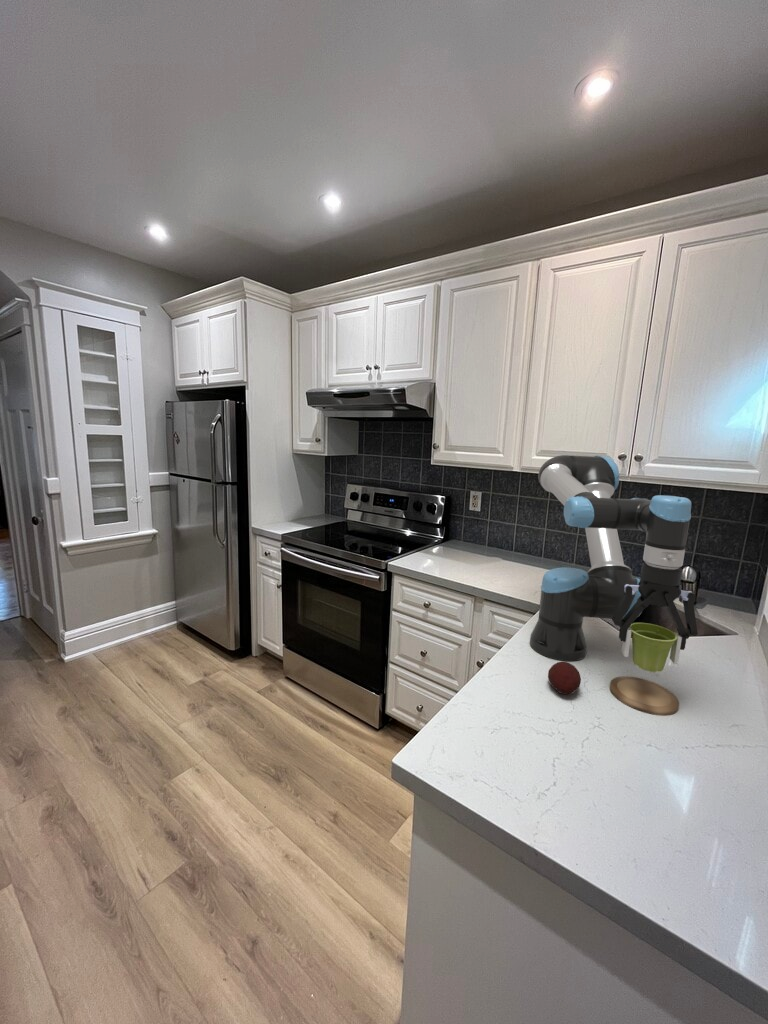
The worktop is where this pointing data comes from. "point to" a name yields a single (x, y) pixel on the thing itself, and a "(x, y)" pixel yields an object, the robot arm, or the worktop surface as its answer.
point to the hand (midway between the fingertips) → (648, 657)
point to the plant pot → (651, 645)
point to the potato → (564, 677)
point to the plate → (644, 695)
